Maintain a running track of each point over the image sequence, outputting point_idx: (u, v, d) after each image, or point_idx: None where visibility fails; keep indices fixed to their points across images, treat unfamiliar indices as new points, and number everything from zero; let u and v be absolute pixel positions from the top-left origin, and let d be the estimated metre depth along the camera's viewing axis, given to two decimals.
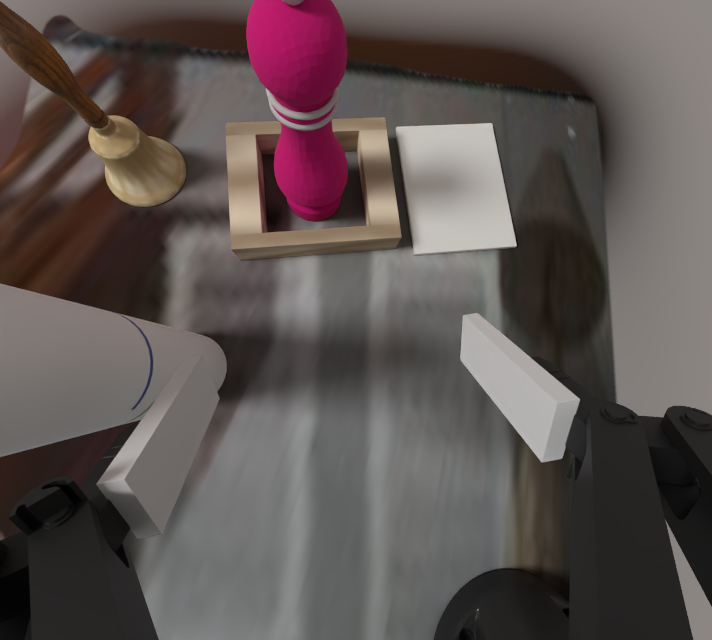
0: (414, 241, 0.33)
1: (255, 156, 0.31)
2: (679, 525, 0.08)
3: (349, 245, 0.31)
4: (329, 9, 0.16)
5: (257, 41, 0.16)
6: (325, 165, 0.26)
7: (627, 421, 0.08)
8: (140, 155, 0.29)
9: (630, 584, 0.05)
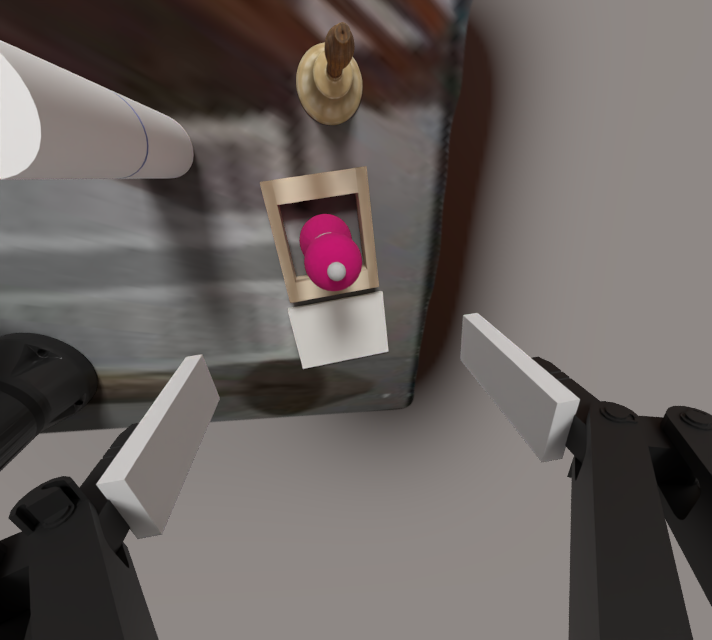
0: (296, 308, 0.49)
1: (339, 194, 0.40)
2: (679, 526, 0.08)
3: None
4: (337, 286, 0.30)
5: (317, 247, 0.29)
6: None
7: (628, 421, 0.08)
8: (323, 97, 0.34)
9: (630, 584, 0.05)
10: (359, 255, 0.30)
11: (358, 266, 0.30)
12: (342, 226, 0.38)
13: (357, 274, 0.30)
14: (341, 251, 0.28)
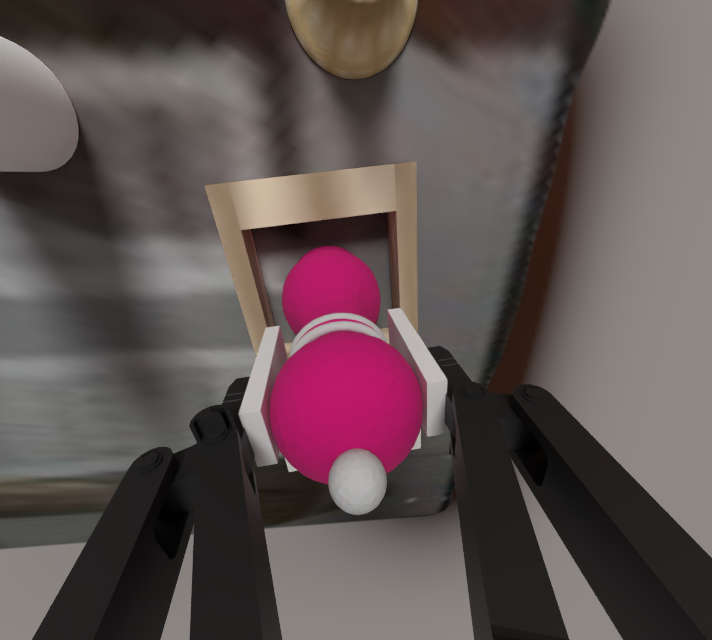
0: None
1: (361, 213, 0.21)
2: (539, 492, 0.09)
3: None
4: None
5: (302, 392, 0.10)
6: None
7: (479, 395, 0.10)
8: (338, 2, 0.15)
9: (502, 545, 0.06)
10: (420, 403, 0.11)
11: (417, 434, 0.11)
12: (364, 278, 0.19)
13: (410, 449, 0.11)
14: (373, 413, 0.09)
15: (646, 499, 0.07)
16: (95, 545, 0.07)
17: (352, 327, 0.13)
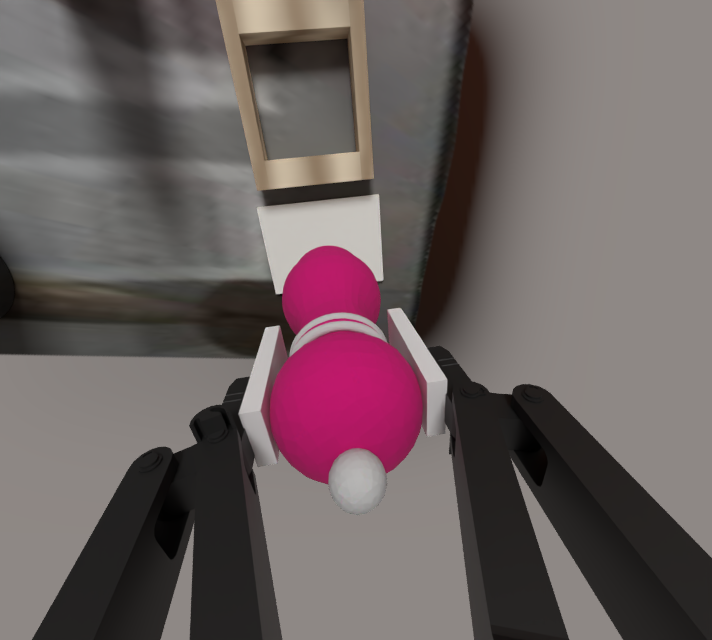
0: (268, 207, 0.38)
1: (324, 26, 0.30)
2: (539, 492, 0.09)
3: None
4: None
5: (302, 392, 0.10)
6: None
7: (479, 395, 0.10)
8: None
9: (501, 545, 0.06)
10: (420, 402, 0.11)
11: (417, 434, 0.11)
12: (364, 278, 0.19)
13: (410, 449, 0.11)
14: (374, 413, 0.09)
15: (646, 499, 0.07)
16: (95, 545, 0.07)
17: (352, 327, 0.13)
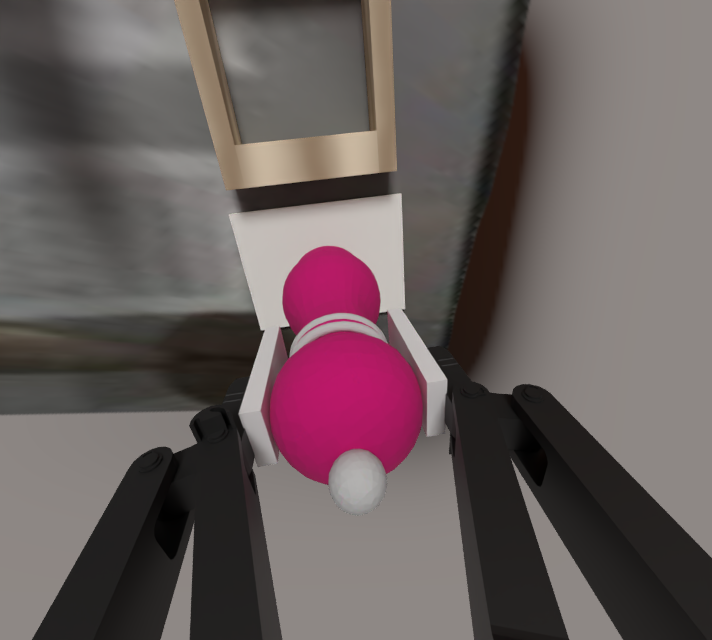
0: (245, 213, 0.27)
1: None
2: (539, 492, 0.09)
3: None
4: None
5: (302, 393, 0.10)
6: None
7: (479, 394, 0.10)
8: None
9: (501, 545, 0.06)
10: (420, 403, 0.11)
11: (417, 434, 0.11)
12: (364, 278, 0.19)
13: (410, 449, 0.11)
14: (374, 413, 0.09)
15: (646, 499, 0.07)
16: (95, 545, 0.07)
17: (352, 327, 0.13)
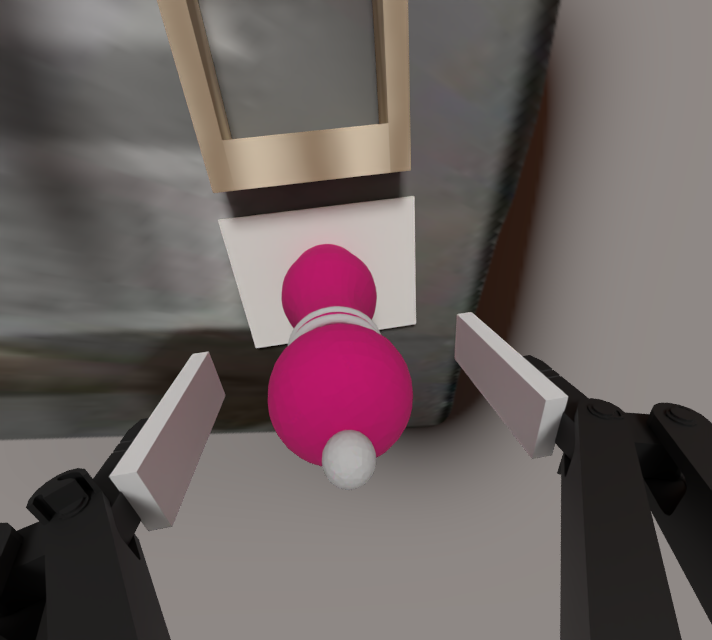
0: (237, 219, 0.24)
1: None
2: (666, 521, 0.08)
3: None
4: None
5: (298, 378, 0.10)
6: None
7: (614, 417, 0.09)
8: None
9: (619, 579, 0.05)
10: (409, 389, 0.11)
11: (407, 419, 0.11)
12: (360, 275, 0.20)
13: (401, 433, 0.12)
14: (364, 397, 0.10)
15: None
16: None
17: (347, 319, 0.14)
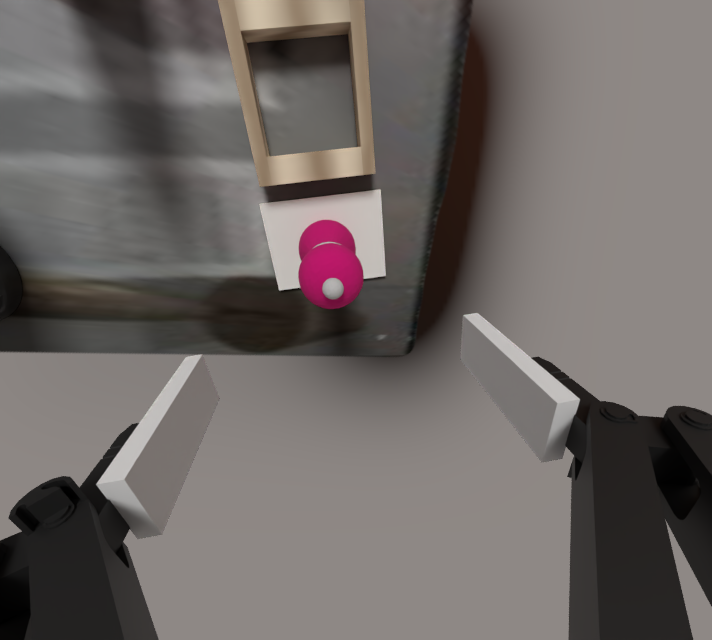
0: (270, 203, 0.39)
1: (325, 21, 0.30)
2: (679, 525, 0.08)
3: None
4: (334, 304, 0.26)
5: (312, 259, 0.25)
6: None
7: (627, 421, 0.08)
8: None
9: (630, 584, 0.05)
10: (360, 270, 0.26)
11: (359, 282, 0.26)
12: (344, 234, 0.35)
13: (357, 291, 0.27)
14: (339, 266, 0.25)
15: None
16: None
17: None
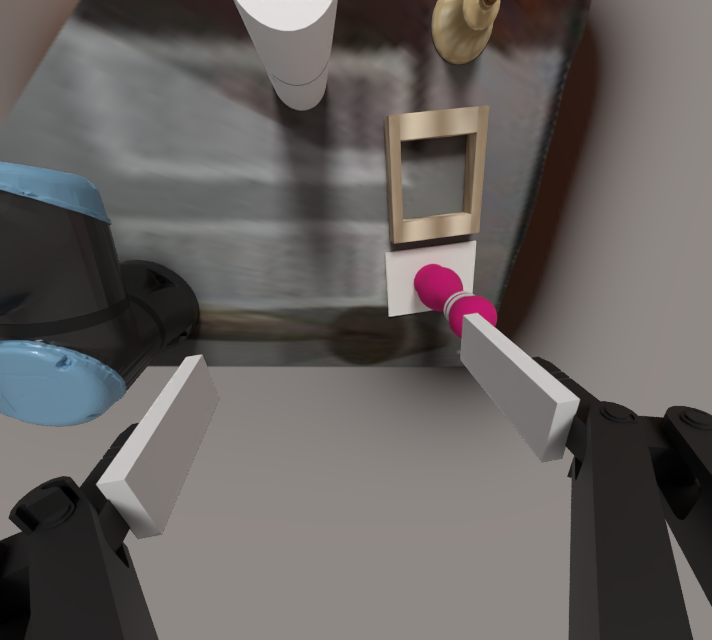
0: (393, 252, 0.50)
1: (459, 132, 0.42)
2: (679, 525, 0.08)
3: (390, 207, 0.46)
4: None
5: (468, 309, 0.37)
6: (434, 306, 0.47)
7: (627, 421, 0.08)
8: (466, 29, 0.36)
9: (630, 584, 0.05)
10: (496, 314, 0.38)
11: None
12: (459, 279, 0.47)
13: None
14: (488, 314, 0.37)
15: None
16: None
17: (470, 295, 0.40)
